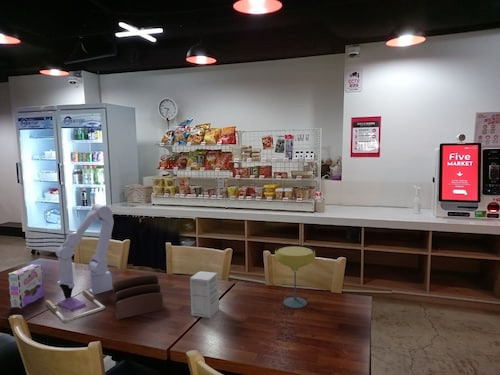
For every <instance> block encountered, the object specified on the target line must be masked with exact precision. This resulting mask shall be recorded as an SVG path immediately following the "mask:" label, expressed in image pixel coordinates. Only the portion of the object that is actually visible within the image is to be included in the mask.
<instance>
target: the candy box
mask: <svg viewBox="0 0 500 375" xmlns="http://www.w3.org/2000/svg"><path fill="white" fill-rule="evenodd" d="M42 270H43V269H42V264H35V263H33V264H29V265H27V266H24V267H22V268H20V269H16V270H14V271H12V272H8V273H7V278H8V288H9V299H10V300H9V302H10V308H14V309H23V308H25V307H26V306H28V305H30V304H32V303H34V302H35V301H38V300H39V299H41V298H43V297H45V292H44V291H45V290H44V280H43V271H42Z"/></svg>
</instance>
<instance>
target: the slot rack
mask: <svg viewBox="0 0 500 375" xmlns="http://www.w3.org/2000/svg"><path fill="white" fill-rule="evenodd" d="M82 294H83V295H84V296H85V297H86V298H87V299H89V300H90V301H92V302H94V301H93V300H96V299H95V295H94V294H93V293H90V291H89V290H87V289H82ZM45 304H46V306H47V307H48V308H49V309H50V310H51V311H52V312H53V314H54V313H55V314H56V312H57V311H58V308H57V306H55V304H54V303H53V302H52V301H51V300H50V299H47V300H46V299H45Z"/></svg>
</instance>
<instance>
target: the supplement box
mask: <svg viewBox="0 0 500 375" xmlns="http://www.w3.org/2000/svg"><path fill="white" fill-rule="evenodd" d="M218 275H219V274H218V272H212V271H198V272H196V273H195V274H194V275H192V276H191V277H189V288H190V289H189V290H190V309H191V310H190V313H191V316H194V317H200V318H201V317H202V318H209V319H211V318H212V317H213V316H214V315H215V314H216V313H217V312H218V311H219V310H220V300H219V299H220V297H219V295H220V294H219V278H218V277H219V276H218Z"/></svg>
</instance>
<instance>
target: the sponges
mask: <svg viewBox="0 0 500 375" xmlns="http://www.w3.org/2000/svg"><path fill="white" fill-rule="evenodd" d="M57 305H58V306H60V307H61V308H63V309H64V310H67V311H69V312H74V311H76V310H77V311H78V310H79V309H82V308H84V307H86V305H87V304H86V302H84V301H81V299H80V300H79V299H77V298H76V297H74V296H71V297H70V298H67V299H65V298H64V299H62V300H59V301H57Z"/></svg>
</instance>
